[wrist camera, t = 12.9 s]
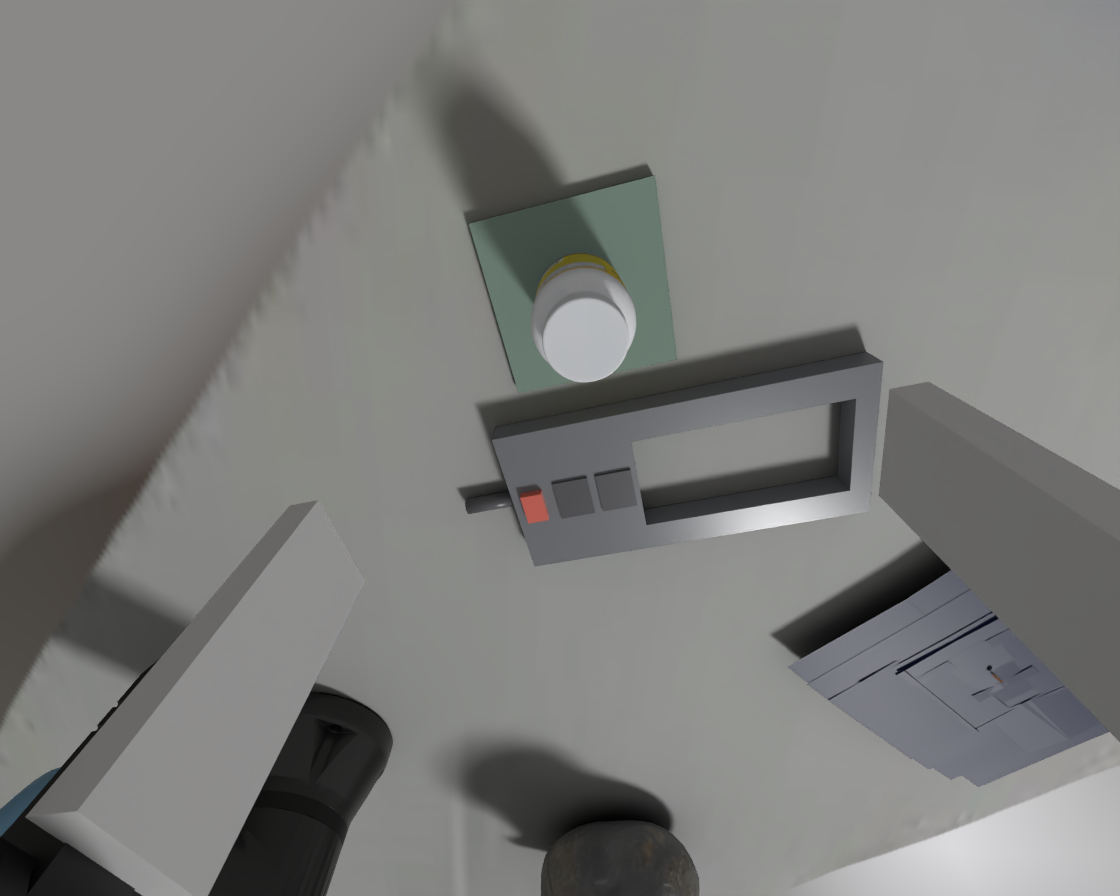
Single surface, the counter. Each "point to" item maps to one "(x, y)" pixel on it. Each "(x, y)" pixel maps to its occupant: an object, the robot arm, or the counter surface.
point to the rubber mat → (569, 227)
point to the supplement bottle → (582, 317)
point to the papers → (950, 686)
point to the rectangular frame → (607, 432)
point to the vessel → (618, 862)
